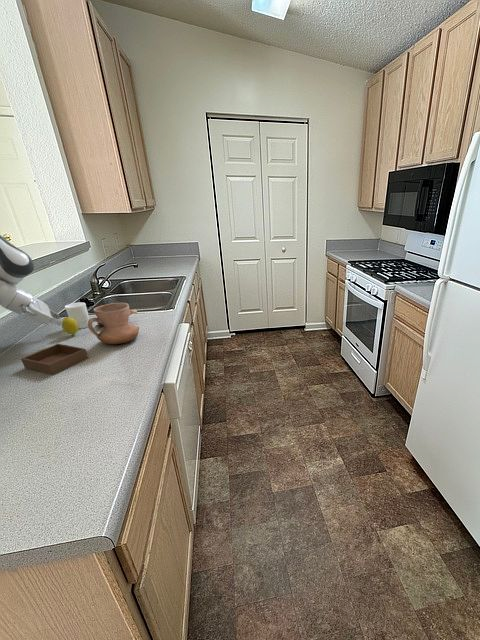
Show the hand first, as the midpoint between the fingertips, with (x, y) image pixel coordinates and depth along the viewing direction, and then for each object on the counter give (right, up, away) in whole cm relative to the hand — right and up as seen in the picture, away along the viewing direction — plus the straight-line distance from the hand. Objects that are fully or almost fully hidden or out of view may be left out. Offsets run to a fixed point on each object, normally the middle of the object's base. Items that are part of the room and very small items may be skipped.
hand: (60, 320), depth 137 cm
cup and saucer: (+13, 0, +16) cm, 21 cm away
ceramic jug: (+26, -9, -2) cm, 27 cm away
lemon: (+2, -6, +4) cm, 8 cm away
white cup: (0, -1, +14) cm, 14 cm away
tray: (+13, -17, -19) cm, 29 cm away
